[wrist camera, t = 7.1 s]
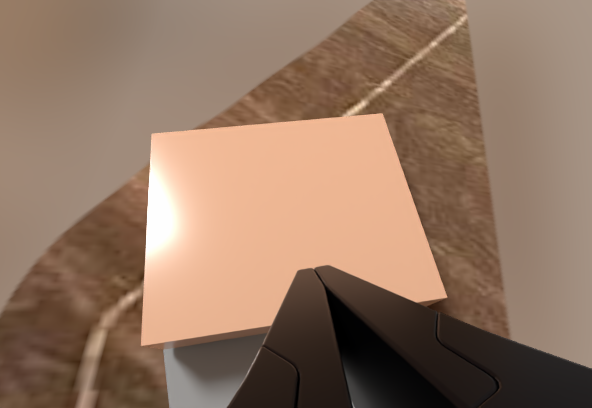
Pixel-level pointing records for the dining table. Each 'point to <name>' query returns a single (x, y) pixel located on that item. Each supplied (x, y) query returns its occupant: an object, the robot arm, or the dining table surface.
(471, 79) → the dining table surface
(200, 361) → the mat
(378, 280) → the peach rectangular block
